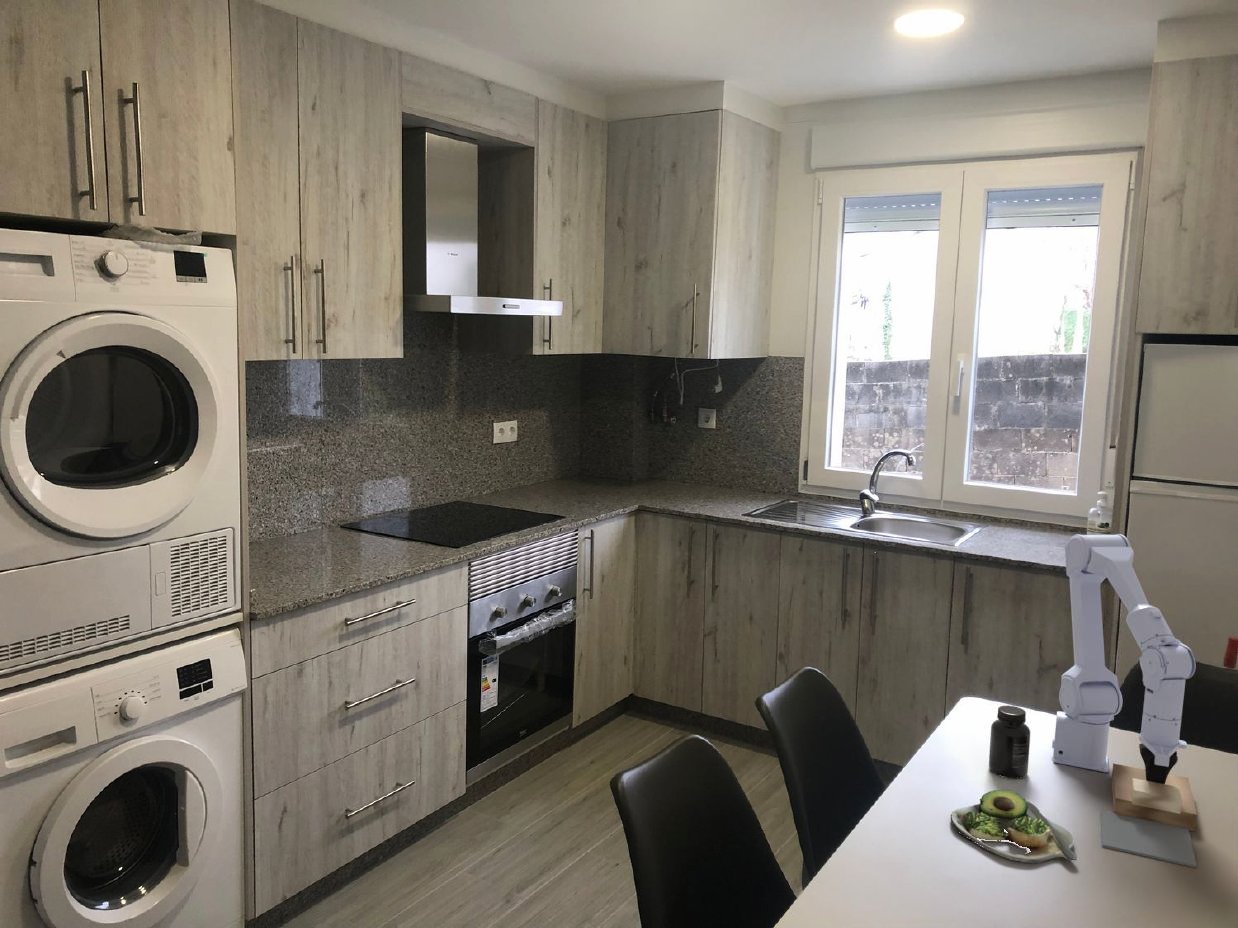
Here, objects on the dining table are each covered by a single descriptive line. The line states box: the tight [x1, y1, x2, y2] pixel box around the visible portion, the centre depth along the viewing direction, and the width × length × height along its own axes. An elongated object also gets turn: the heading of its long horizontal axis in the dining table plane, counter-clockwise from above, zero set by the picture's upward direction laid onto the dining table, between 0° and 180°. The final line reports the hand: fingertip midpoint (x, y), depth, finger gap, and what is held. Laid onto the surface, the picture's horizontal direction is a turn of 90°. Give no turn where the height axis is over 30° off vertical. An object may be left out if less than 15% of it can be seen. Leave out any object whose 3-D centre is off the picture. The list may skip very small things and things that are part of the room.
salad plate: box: [950, 789, 1078, 864], centre depth 155 cm, size 19×18×5 cm
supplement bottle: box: [988, 705, 1031, 780], centre depth 178 cm, size 7×7×12 cm
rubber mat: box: [1100, 810, 1197, 868], centre depth 155 cm, size 13×12×1 cm
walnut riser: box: [1111, 763, 1198, 832], centre depth 167 cm, size 12×15×3 cm
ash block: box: [1131, 778, 1182, 814], centre depth 161 cm, size 7×5×2 cm
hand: (1154, 789), depth 165 cm, fingers closed
